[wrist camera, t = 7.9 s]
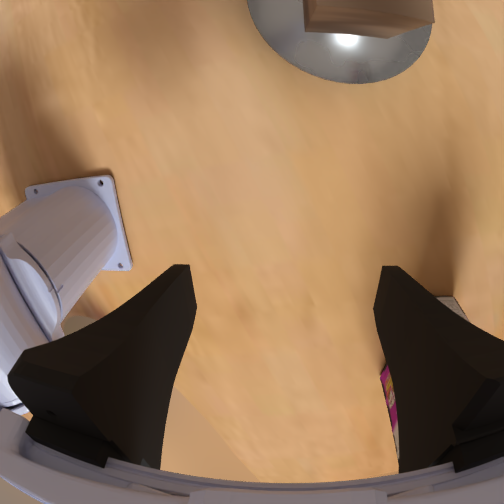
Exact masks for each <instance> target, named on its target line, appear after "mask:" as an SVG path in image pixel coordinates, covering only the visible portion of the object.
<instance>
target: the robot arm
mask: <svg viewBox="0 0 504 504" xmlns="http://www.w3.org/2000/svg"><path fill="white" fill-rule="evenodd" d="M100 180H102V181H103V185H102V184H101V183H100ZM37 191H38V192H37ZM25 194H26V198H27V200H25V201H24V202H22V203H21V204H19V205H18V206H16V207H15V208H13V209H12V210H11V211H9V212H8V213H6V214H5V215H3V216H2V217H1V218H0V477H1V478H3V479H4V480H5V481H7V482H8V483H10V484H11V485H13V486H14V487H16V488H17V489H19V490H20V491H22V492H24V493H25V494H27V495H29V496H31V497H32V498H34V499H36V500H38V501H40V502H42V503H43V504H504V341H503V340H501V339H499V338H497V337H495V336H493V335H491V334H489V333H487V332H485V331H483V330H482V329H480V328H478V327H476V326H475V325H473V324H471V323H470V322H468V321H467V320H465V319H464V318H462V317H461V316H459V315H458V314H456V313H455V312H454V311H452V310H451V309H450V308H448V307H447V306H446V305H445V304H443V303H442V302H441V301H439V300H438V299H437V298H436V297H434V296H433V295H432V294H431V293H430V292H428V291H427V290H426V289H425V288H424V287H423V286H421V285H420V284H419V283H418V282H417V281H416V280H414V279H413V278H412V277H411V276H410V275H409V274H407V273H406V272H405V271H404V270H402V269H401V268H400V267H398V266H382V271H381V276H380V280H379V285H378V290H377V294H376V299H375V303H374V307H373V310H374V316H375V322H376V327H377V332H378V335H379V339H380V342H381V345H382V348H383V352H384V355H385V358H386V362H387V365H388V368H389V372H390V375H391V379H392V383H393V388H394V395H395V402H396V411H397V421H398V435H399V474H395V475H388V476H382V477H375V478H367V479H359V480H349V481H337V482H321V483H260V482H259V483H258V482H243V481H231V480H221V479H212V478H204V477H197V476H191V475H184V474H179V473H173V472H168V471H162V470H160V465H161V455H162V454H161V453H162V446H163V438H164V431H165V424H166V418H167V413H168V408H169V402H170V398H171V393H172V388H173V384H174V381H175V377H176V374H177V371H178V368H179V366H180V363H181V360H182V357H183V354H184V352H185V349H186V346H187V343H188V340H189V338H190V335H191V332H192V329H193V324H194V320H195V315H196V310H197V304H196V299H195V293H194V288H193V282H192V276H191V271H190V265H183V264H174V265H173V266H171V267H170V268H169V269H167V270H166V271H165V272H164V273H162V274H161V275H160V276H159V277H157V278H156V279H155V280H154V281H153V282H151V283H150V284H149V285H148V286H146V287H145V288H144V289H143V290H142V291H140V292H139V293H138V294H136V295H135V296H134V297H132V298H131V299H130V300H128V301H127V302H125V303H124V304H123V305H121V306H120V307H119V308H117V309H116V310H114V311H112V312H111V313H109V314H108V315H106V316H104V317H103V318H101V319H99V320H98V321H96V322H94V323H92V324H90V325H88V326H86V327H84V328H82V329H80V330H78V331H76V332H74V333H72V334H69V335H67V336H65V337H64V333H63V331H62V329H61V325H60V323H61V322H62V321H63V319H64V318H65V316H66V315H67V314H68V312H69V311H70V310H71V308H72V307H73V306H74V304H75V303H76V302H77V300H78V299H79V298H80V296H81V295H82V294H83V292H84V291H85V290H86V288H87V287H88V286H89V285H90V283H91V282H92V281H93V279H94V278H95V277H96V276H97V274H98V273H99V272H100V271H101V270H115V271H129V270H131V268H132V266H133V264H132V260H131V256H130V252H129V248H128V244H127V240H126V236H125V231H124V227H123V223H122V218H121V214H120V209H119V204H118V199H117V194H116V189H115V184H114V180H113V178H112V176H110V175H100V176H92V177H84V178H77V179H70V180H63V181H57V182H50V183H44V184H38V185H32V186H29V187H27V188H26V189H25ZM120 263H121V264H122V265H123V266H121V265H120ZM28 412H31V413H32V414H33V417H32V419H31V421H28V420H27V419H26V418H24V417H22V416H21V415H23V414H25V413H28Z"/></svg>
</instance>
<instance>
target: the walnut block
mask: <svg viewBox="0 0 504 504" xmlns="http://www.w3.org/2000/svg"><path fill="white" fill-rule="evenodd" d="M303 13H304V28H305V32H316V33H335V34H348V35H359V36H368V37H376V38H383V39H388V38H391V37H394V36H397V35H399V34H402V33H405V32H408V31H411V30H414V29H417V28H420V27H423V26H426V25H429V24H432V23H435V21H434V10H433V2H432V0H303Z"/></svg>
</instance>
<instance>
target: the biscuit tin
mask: <svg viewBox="0 0 504 504" xmlns="http://www.w3.org/2000/svg"><path fill="white" fill-rule="evenodd" d="M247 2H248V7H249V11H250V14H251V17H252V19H253V21H254V23H255V26H256V28H257V29H258V31H259V32H260V34H261V36H262V37H263V38H264V40H265V41H266V42H267V43H268V44H269V46H270V47H271V48H272V49H273V50H274V51H275V52H277V53H278V54H279V55H280V56H281V57H282V58H284V59H285V60H286V61H288V62H289V63H290V64H292V65H294V66H295V67H297V68H299V69H300V70H302V71H305V72H307V73H309V74H311V75H314V76H316V77H319V78H322V79H325V80H330V81H334V82H340V83H348V84H364V83H373V82H378V81H382V80H386V79H388V78H391V77H394V76H396V75H398V74H399V73H401V72H403V71H405V70H406V69H407V68H409V67H410V66H411V65H412V64H413V63H414V62H415V61H416V60H417V59H418V58H419V57H420V55H421V54H422V52H423V51H424V49H425V47H426V45H427V43H428V41H429V37H430V34H431V28H432V24H429V25H426V26H423V27H420V28H417V29H414V30H411V31H408V32H405V33H402V34H399V35H397V36H394V37H391V38H388V39H383V38H376V37H368V36H359V35H348V34H335V33H316V32H305V28H304V13H303V0H247Z"/></svg>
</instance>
